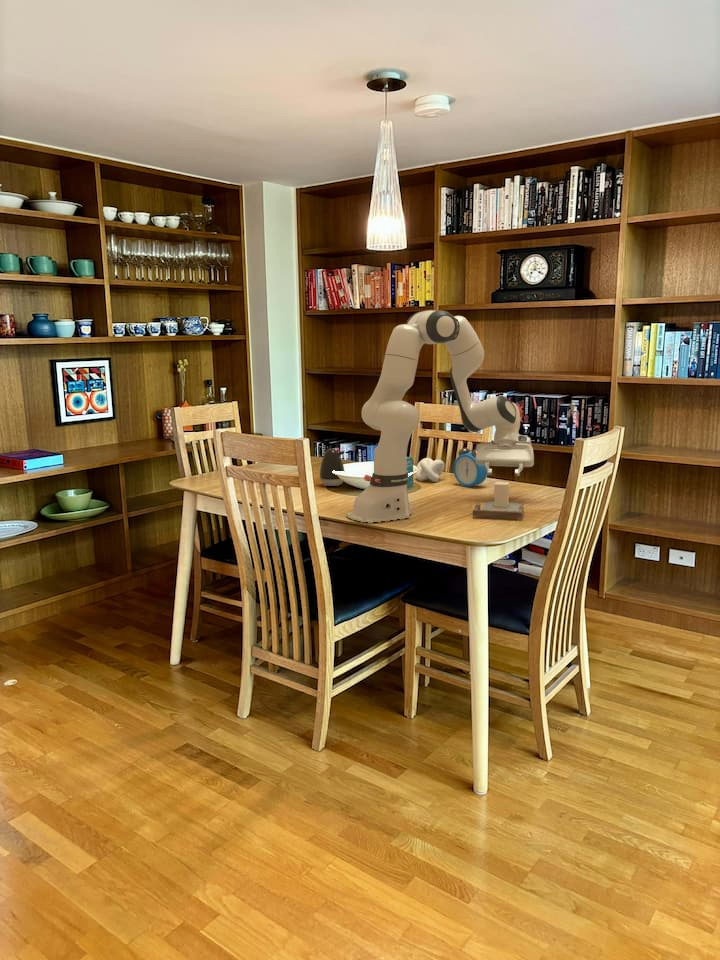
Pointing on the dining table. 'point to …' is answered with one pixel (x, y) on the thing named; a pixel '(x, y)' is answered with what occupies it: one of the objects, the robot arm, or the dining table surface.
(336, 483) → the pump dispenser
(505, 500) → the cream block
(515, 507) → the grey mat
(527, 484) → the dining table surface
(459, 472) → the alarm clock
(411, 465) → the data package
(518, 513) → the brown wooden tray
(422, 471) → the white decorative knot
